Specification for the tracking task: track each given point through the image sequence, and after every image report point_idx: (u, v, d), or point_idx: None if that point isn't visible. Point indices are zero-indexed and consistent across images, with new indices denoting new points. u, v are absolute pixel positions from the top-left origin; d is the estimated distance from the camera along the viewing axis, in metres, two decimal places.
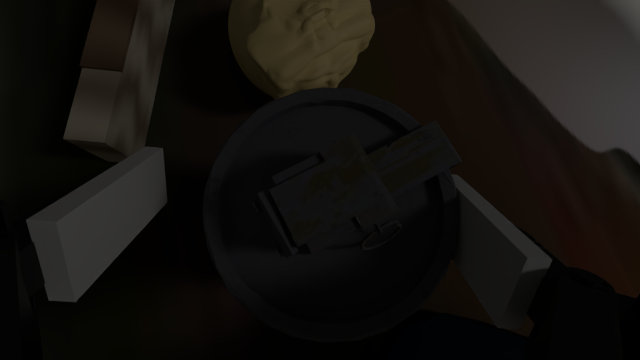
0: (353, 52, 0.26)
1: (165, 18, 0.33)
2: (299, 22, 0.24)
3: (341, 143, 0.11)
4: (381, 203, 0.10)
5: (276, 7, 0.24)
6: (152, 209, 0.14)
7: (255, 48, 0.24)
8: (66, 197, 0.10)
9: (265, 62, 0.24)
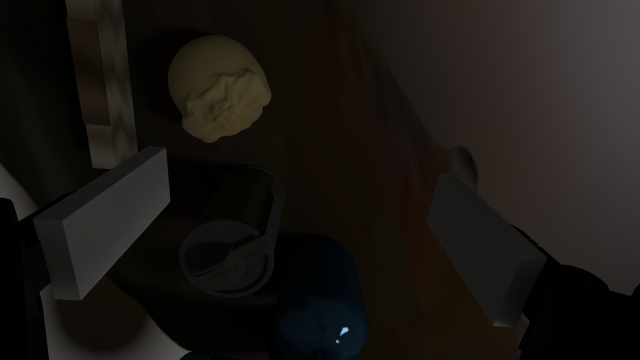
0: (255, 116, 0.40)
1: (122, 48, 0.42)
2: (212, 117, 0.37)
3: (219, 264, 0.33)
4: (234, 280, 0.33)
5: (195, 106, 0.36)
6: (155, 209, 0.14)
7: (188, 129, 0.38)
8: (71, 196, 0.10)
9: (196, 135, 0.39)
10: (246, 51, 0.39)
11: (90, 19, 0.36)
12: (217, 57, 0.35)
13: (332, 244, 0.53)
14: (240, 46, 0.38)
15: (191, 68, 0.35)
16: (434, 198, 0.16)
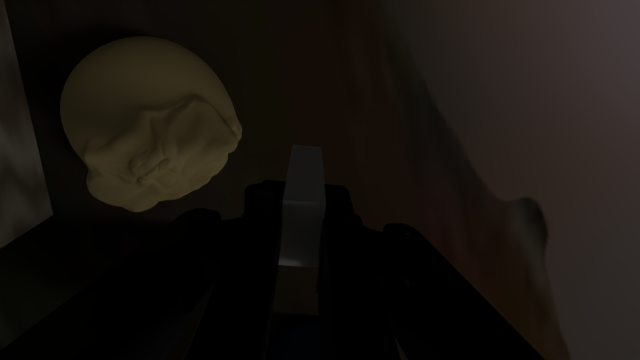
0: (214, 171, 0.24)
1: (5, 57, 0.26)
2: (133, 178, 0.21)
3: None
4: None
5: (102, 162, 0.21)
6: None
7: (98, 195, 0.23)
8: (288, 184, 0.12)
9: (114, 203, 0.23)
10: (196, 63, 0.23)
11: None
12: (136, 77, 0.20)
13: None
14: (185, 55, 0.23)
15: (88, 96, 0.20)
16: None
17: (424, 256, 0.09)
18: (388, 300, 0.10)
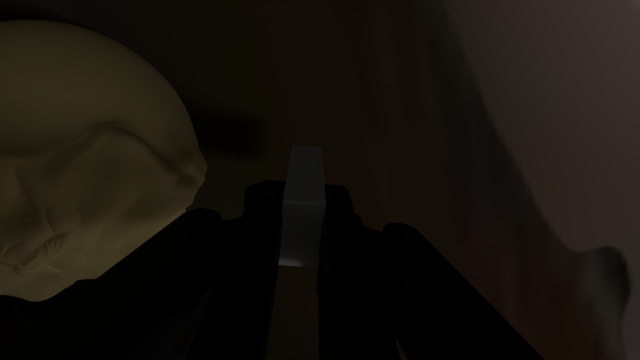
0: None
1: None
2: (7, 266, 0.12)
3: None
4: None
5: None
6: None
7: None
8: (288, 184, 0.12)
9: None
10: (124, 65, 0.14)
11: None
12: None
13: None
14: (103, 52, 0.13)
15: None
16: None
17: (424, 256, 0.09)
18: (388, 300, 0.10)
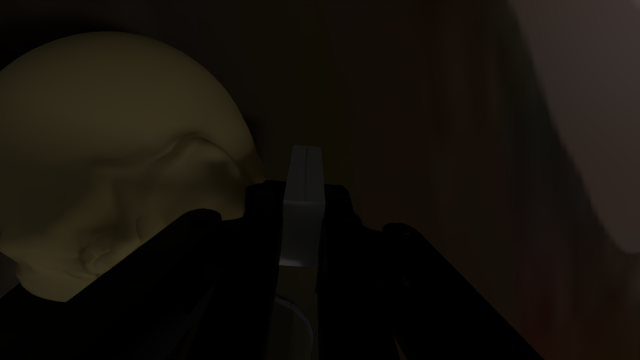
0: None
1: None
2: (91, 275, 0.12)
3: None
4: None
5: (34, 253, 0.12)
6: None
7: (37, 293, 0.14)
8: (289, 184, 0.12)
9: (67, 300, 0.15)
10: (195, 75, 0.14)
11: None
12: (85, 105, 0.11)
13: None
14: (177, 62, 0.14)
15: None
16: None
17: (423, 255, 0.09)
18: (388, 300, 0.10)
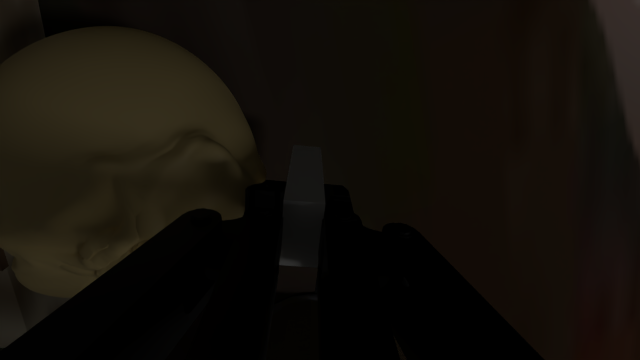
0: None
1: None
2: (88, 271, 0.12)
3: None
4: None
5: (31, 247, 0.12)
6: None
7: (33, 288, 0.14)
8: (288, 184, 0.12)
9: (63, 296, 0.14)
10: (199, 73, 0.14)
11: None
12: (88, 100, 0.11)
13: None
14: (181, 59, 0.14)
15: None
16: None
17: (423, 255, 0.09)
18: (388, 300, 0.10)
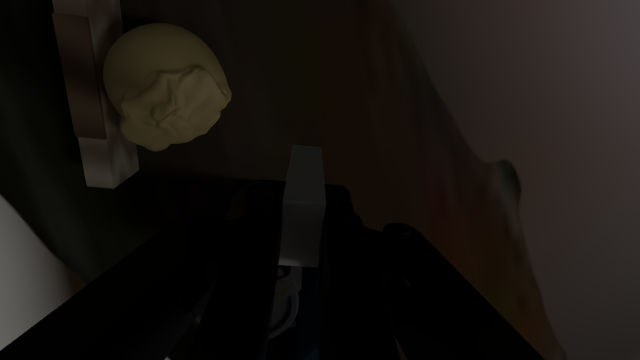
0: (210, 122, 0.33)
1: None
2: (154, 122, 0.31)
3: None
4: None
5: (133, 109, 0.30)
6: None
7: (127, 135, 0.32)
8: (288, 184, 0.12)
9: (138, 142, 0.33)
10: (199, 43, 0.32)
11: (81, 14, 0.30)
12: (158, 50, 0.29)
13: None
14: (191, 37, 0.32)
15: (125, 62, 0.29)
16: None
17: (424, 256, 0.09)
18: (388, 300, 0.10)
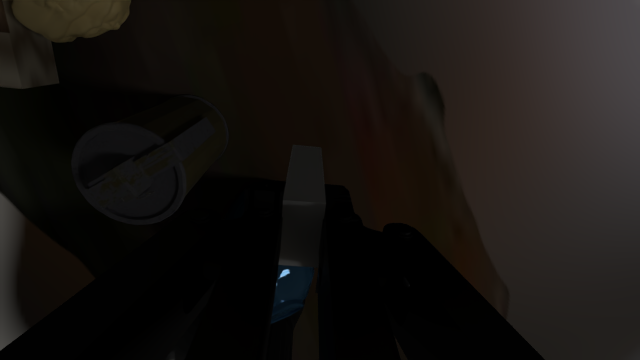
0: (107, 10, 0.34)
1: None
2: (42, 0, 0.31)
3: (109, 172, 0.27)
4: (130, 193, 0.28)
5: None
6: None
7: (20, 18, 0.32)
8: (288, 184, 0.12)
9: (34, 28, 0.33)
10: None
11: None
12: None
13: None
14: None
15: None
16: None
17: (424, 255, 0.09)
18: (388, 300, 0.10)
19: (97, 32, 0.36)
